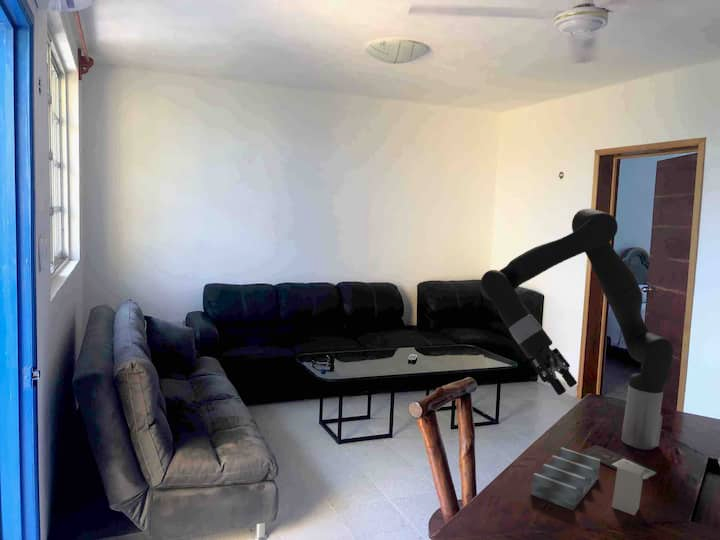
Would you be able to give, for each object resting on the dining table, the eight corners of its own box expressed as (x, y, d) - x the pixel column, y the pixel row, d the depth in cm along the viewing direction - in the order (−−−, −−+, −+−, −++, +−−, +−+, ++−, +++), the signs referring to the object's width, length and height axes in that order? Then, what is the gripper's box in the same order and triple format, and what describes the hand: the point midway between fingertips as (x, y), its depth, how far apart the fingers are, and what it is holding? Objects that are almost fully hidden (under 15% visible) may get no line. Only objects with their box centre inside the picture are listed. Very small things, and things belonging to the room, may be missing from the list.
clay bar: (611, 507, 138) (617, 467, 136) (616, 500, 141) (621, 461, 139) (634, 515, 135) (640, 474, 133) (638, 508, 138) (644, 468, 136)
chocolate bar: (596, 444, 170) (658, 471, 156) (595, 447, 170) (658, 474, 156) (578, 452, 165) (641, 480, 151) (578, 455, 165) (641, 483, 151)
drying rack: (531, 494, 141) (533, 474, 140) (559, 465, 157) (561, 447, 156) (572, 510, 135) (575, 489, 134) (598, 478, 151) (600, 459, 150)
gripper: (530, 332, 146) (571, 388, 141) (550, 324, 158) (589, 375, 152) (508, 348, 150) (547, 403, 145) (529, 339, 162) (566, 390, 156)
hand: (568, 389), depth 149 cm, fingers open, 8 cm apart
